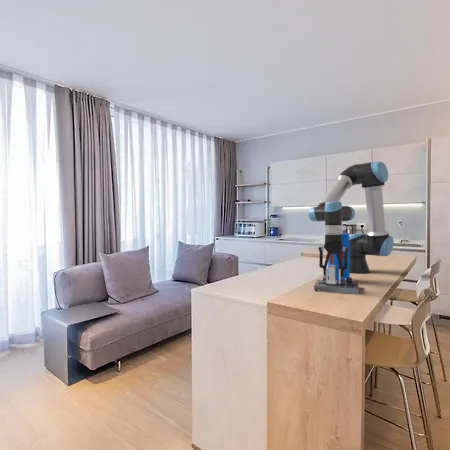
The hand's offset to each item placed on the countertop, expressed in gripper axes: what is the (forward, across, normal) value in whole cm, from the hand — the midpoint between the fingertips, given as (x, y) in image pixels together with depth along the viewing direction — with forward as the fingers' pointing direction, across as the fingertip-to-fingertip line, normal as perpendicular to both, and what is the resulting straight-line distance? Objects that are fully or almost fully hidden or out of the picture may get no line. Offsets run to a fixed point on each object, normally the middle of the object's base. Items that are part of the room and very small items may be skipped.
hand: (333, 282), depth 143 cm
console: (+3, +1, +1) cm, 4 cm away
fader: (0, -1, 0) cm, 1 cm away
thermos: (+3, +1, +21) cm, 21 cm away
